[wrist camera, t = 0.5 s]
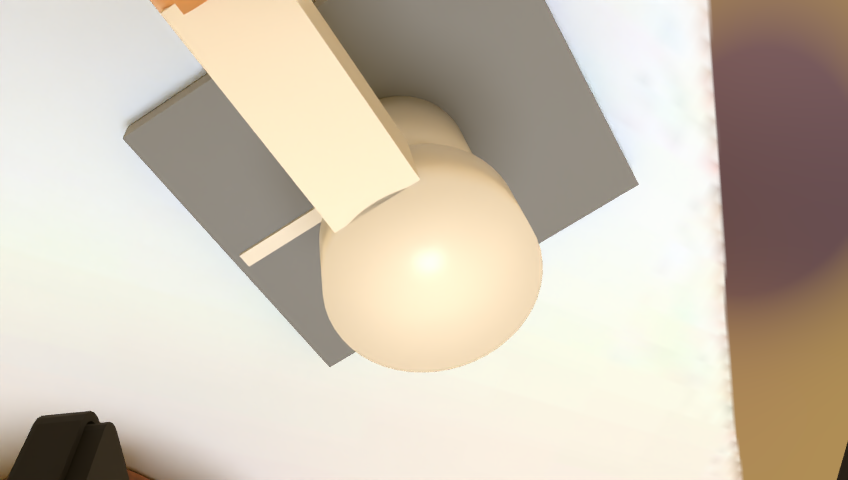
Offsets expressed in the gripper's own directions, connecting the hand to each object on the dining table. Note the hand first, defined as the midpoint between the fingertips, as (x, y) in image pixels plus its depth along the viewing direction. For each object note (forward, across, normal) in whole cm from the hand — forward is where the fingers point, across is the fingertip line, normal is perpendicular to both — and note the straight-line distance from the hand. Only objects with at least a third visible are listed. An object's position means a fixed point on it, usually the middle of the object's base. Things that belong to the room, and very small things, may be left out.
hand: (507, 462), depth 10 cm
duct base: (+31, -1, +8) cm, 32 cm away
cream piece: (+22, +1, +4) cm, 22 cm away
